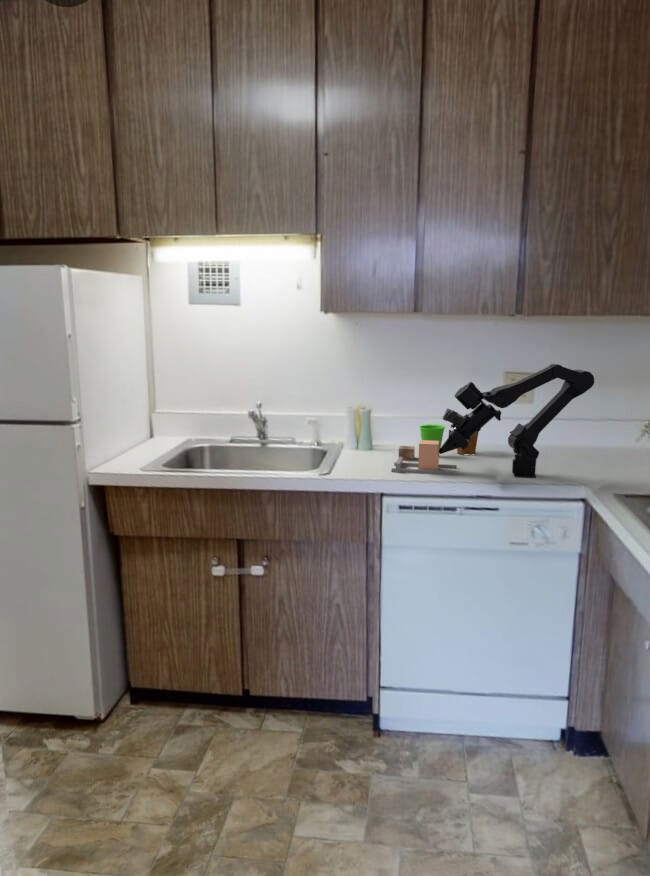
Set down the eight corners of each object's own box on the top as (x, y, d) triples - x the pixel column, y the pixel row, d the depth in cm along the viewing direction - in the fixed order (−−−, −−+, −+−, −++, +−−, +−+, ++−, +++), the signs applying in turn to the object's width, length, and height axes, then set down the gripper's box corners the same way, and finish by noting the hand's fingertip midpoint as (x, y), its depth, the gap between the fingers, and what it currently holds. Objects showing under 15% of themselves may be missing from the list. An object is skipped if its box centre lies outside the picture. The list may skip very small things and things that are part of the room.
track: (456, 470, 216) (456, 459, 215) (455, 478, 206) (456, 466, 206) (394, 467, 220) (394, 456, 219) (391, 475, 210) (391, 463, 210)
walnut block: (414, 460, 231) (414, 446, 230) (413, 463, 226) (413, 449, 225) (399, 459, 232) (400, 445, 231) (398, 463, 227) (398, 448, 226)
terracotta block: (438, 468, 215) (439, 440, 213) (437, 472, 209) (438, 444, 208) (419, 467, 216) (420, 440, 215) (418, 471, 211) (419, 443, 209)
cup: (448, 456, 237) (448, 425, 235) (438, 461, 229) (439, 429, 227) (424, 453, 241) (425, 423, 239) (414, 458, 234) (414, 427, 231)
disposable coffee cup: (447, 453, 241) (448, 421, 239) (461, 449, 248) (462, 417, 246) (471, 457, 235) (472, 423, 232) (484, 453, 242) (485, 420, 240)
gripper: (459, 396, 216) (423, 429, 220) (458, 404, 198) (419, 439, 202) (483, 421, 216) (446, 453, 220) (484, 432, 198) (445, 466, 202)
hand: (439, 452), depth 211 cm, fingers closed, pressing on terracotta block
